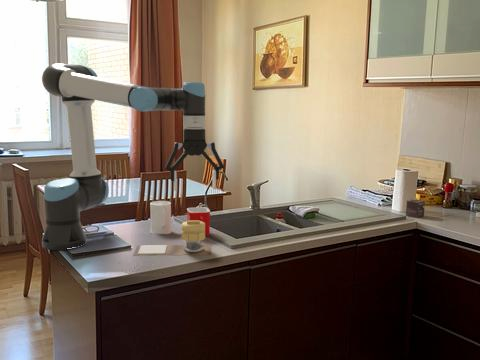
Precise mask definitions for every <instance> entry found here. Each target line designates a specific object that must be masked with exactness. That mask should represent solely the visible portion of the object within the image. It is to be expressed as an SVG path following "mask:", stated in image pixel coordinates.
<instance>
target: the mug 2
mask: <svg viewBox="0 0 480 360" xmlns="http://www.w3.org/2000/svg"><path fill="white" fill-rule="evenodd" d="M186 212H187V218H186V221H190V220H200V221H202V222H204V223H205V237H209V236H211V235H210V234H211V233H210V232H211V231H210V229H211V228H210V227H211V226H210V221H211V220H210V219H211V217H210V215H211V210H210V208H209V207H208V206H207V207H205V206H202V207H200V206H199V207H188V208H186Z"/></svg>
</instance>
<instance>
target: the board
mask: <svg viewBox="0 0 480 360" xmlns="http://www.w3.org/2000/svg"><path fill="white" fill-rule="evenodd" d="M166 245H167V248H166V252H165V254H152V255H138V252H139V250H140V247H141V245H136V248H135V250H134V253H133V254H132V257H146V256H147V257H149V256H153V257H154V256H158V257H159V256H200V255H201V256H203V255H204V256H206V255H207V256H211V255H212V245H211V244H201V245H202V246H203V247H204V250H203V251H202V252H198V253H188V252H185V251H184V250H183V247H184V246H186V244H166Z"/></svg>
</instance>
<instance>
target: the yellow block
mask: <svg viewBox="0 0 480 360" xmlns="http://www.w3.org/2000/svg"><path fill="white" fill-rule="evenodd" d="M205 239H206V236H205V223H204V222H202V221H200V220H190V221H187V220H186V221H183V222H182V223H181V240H183V241H185V242H186V241H200V240H201V241H203V240H205Z"/></svg>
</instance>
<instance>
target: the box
mask: <svg viewBox="0 0 480 360" xmlns="http://www.w3.org/2000/svg"><path fill="white" fill-rule="evenodd" d="M425 203H426V200H421V199H420V200H419V199H415V198H413V199H407V200H406V206H405V207H406V209H405V216H406V217H410V218H411V217H412V218H415V219H419V218H423V217H425V208H426V207H425V205H426V204H425Z"/></svg>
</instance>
